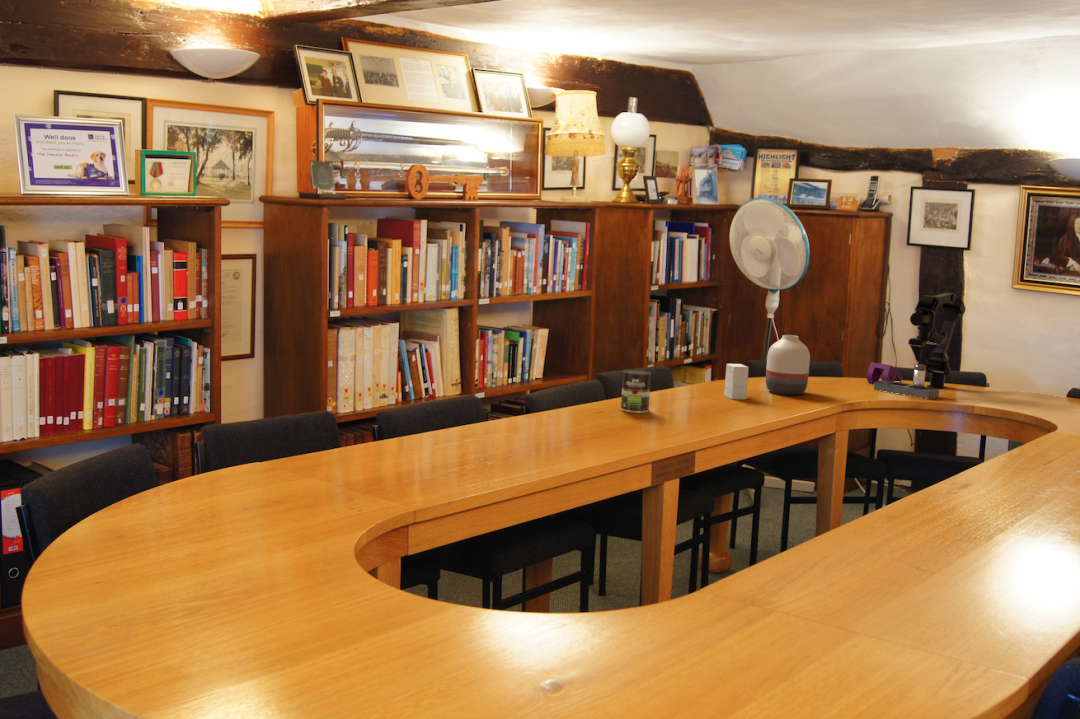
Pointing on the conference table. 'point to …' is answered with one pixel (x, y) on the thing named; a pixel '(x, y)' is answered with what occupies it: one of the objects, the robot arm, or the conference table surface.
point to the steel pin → (919, 376)
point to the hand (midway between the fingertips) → (923, 360)
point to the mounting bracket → (882, 373)
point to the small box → (736, 381)
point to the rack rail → (906, 389)
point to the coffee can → (635, 391)
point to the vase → (787, 366)
